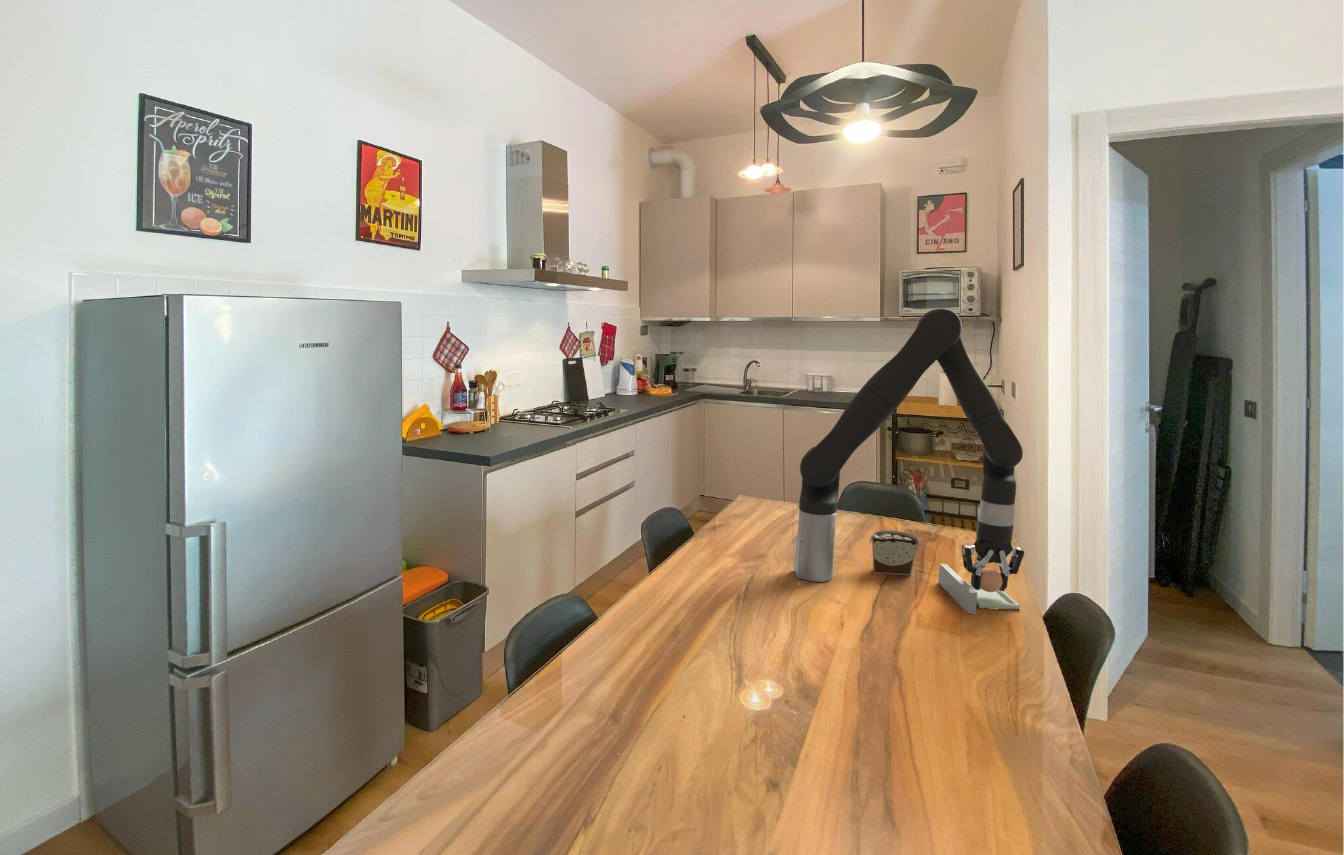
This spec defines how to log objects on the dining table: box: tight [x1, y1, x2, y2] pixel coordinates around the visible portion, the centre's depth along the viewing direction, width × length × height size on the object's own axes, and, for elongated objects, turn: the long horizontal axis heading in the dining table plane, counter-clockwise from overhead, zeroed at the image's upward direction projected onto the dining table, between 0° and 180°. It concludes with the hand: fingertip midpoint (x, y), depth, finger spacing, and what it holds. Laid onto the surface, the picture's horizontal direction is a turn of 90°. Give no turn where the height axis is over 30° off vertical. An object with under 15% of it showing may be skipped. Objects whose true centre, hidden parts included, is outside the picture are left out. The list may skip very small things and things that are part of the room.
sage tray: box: [967, 583, 1021, 610], centre depth 155 cm, size 9×12×1 cm
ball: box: [980, 567, 1002, 592], centre depth 154 cm, size 6×6×6 cm
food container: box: [869, 529, 920, 576], centre depth 171 cm, size 12×6×10 cm, turn 84°
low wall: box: [937, 563, 977, 614], centre depth 155 cm, size 2×18×5 cm, turn 179°
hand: (988, 589), depth 154 cm, fingers closed on ball, 5 cm apart
